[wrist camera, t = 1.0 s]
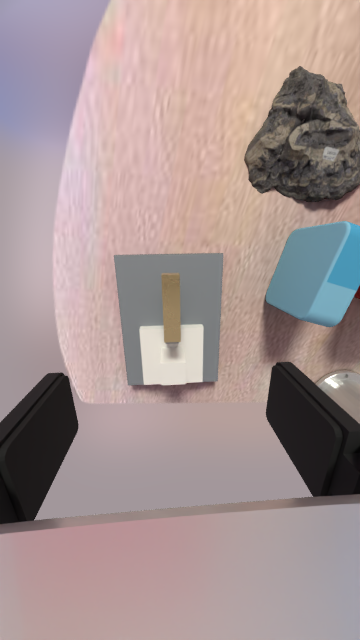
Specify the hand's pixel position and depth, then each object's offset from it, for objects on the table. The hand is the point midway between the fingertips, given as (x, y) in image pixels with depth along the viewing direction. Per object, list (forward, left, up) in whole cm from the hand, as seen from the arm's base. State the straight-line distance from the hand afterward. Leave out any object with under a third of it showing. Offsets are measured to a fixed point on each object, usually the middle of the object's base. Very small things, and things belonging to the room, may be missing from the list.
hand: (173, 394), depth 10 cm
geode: (+21, -21, -28) cm, 41 cm away
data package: (+3, -20, -27) cm, 34 cm away
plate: (-5, 0, -27) cm, 28 cm away
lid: (-10, 0, -24) cm, 26 cm away
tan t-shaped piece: (-2, 0, -24) cm, 24 cm away
